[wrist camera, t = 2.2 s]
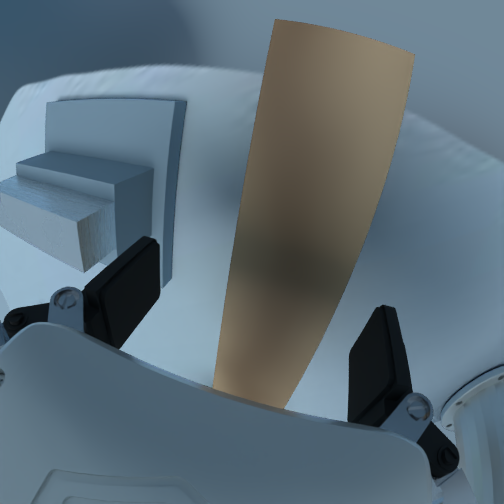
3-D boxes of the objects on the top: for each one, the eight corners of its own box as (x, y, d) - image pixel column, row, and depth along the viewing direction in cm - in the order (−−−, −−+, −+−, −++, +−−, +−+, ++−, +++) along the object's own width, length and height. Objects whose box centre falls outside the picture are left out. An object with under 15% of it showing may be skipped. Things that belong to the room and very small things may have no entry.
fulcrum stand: (186, 101, 16) (89, 105, 8) (171, 278, 23) (111, 346, 16) (58, 101, 18) (-19, 117, 10) (63, 235, 25) (5, 274, 18)
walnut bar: (381, 78, 12) (415, 54, 6) (293, 352, 23) (277, 419, 17) (297, 56, 13) (275, 19, 7) (239, 336, 24) (211, 398, 18)
